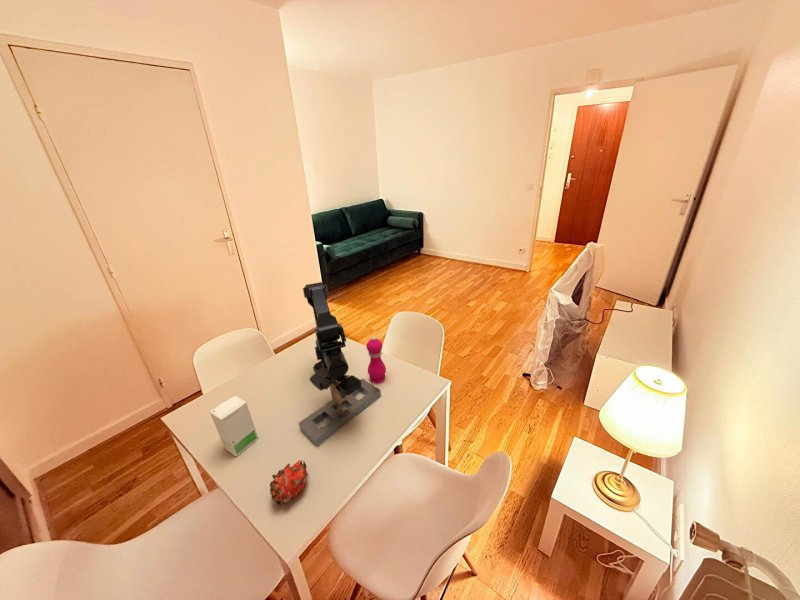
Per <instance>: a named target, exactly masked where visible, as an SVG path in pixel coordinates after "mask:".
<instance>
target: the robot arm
mask: <svg viewBox="0 0 800 600" xmlns="http://www.w3.org/2000/svg"><path fill="white" fill-rule="evenodd" d="M327 285H328V284H327V283H323V282H322V281H319V282H315V283H314V282H313V283H308V284H305V286H304V287H303V288H302V291H303V297H304V298H305V299H306V300H307V304H308V305H309V306H311V308H312V310H313V315H314V322H315V325H316V329H314V332H315V337H316V340H315V346H314V350H315V356H316V359H317V361H318V362H316V363H314V365H313V367H312V369H313V372H314V373H313V374H312V375H311V376H310V378H309V382H311V384H312V385H313V386H314V387H315V388H317V390H319V391H321V392H322V391H324V390H328V389H330V386H331V384H332V381H333V382H334V381H337V382H340V383H339V385H338V386H336V387H335V388H336V389H337V390H339V391H340V394H341V396H342V398H345V397H346V395H350V394H351V393H353V392H354V391H356V390H357V389H358V388H360V387H361V379H360V378H358V377H356V376H355V375H349V374H347V373H348V371H349V365H348V362H347V359H346V356H345V354H344V352H343V351H342V349H343V348H346V346H347V345H346V342H347V338H346V334H345V330H344V327H343V326H342V324H341V323H339V322H338V319H337V318H336V316H334V315H333V314H332V313H331V311H330V308H329V305H328V301H327V300H328V298H327V296H328V295H327V294H329V288H328V286H327ZM331 380H332V381H331Z"/></svg>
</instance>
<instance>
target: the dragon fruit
mask: <svg viewBox="0 0 800 600" xmlns="http://www.w3.org/2000/svg"><path fill="white" fill-rule="evenodd" d="M307 469H308V468H307V464H306V462H305V460H300V459H299V460H298V461H296V462H295V463H294V464H293V465H291V463H287V464H286V465H285V466H284V468H282V469H280V470H279V471H277V473H276V474H272V478H273V480H272V481H270V484H269V487H270V488H269V493H270V496H271V500H272V501H273V502H275V503H276V504H277V506H280V505H281V504H287V503H289V501H290V500H291V499H292V498H299V497H300V491H302V490H303V489H304V487H305V484H306V480H307V477H308V476H309V474H308V473H307Z"/></svg>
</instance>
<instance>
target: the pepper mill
mask: <svg viewBox="0 0 800 600" xmlns="http://www.w3.org/2000/svg"><path fill="white" fill-rule="evenodd" d="M382 349H383V342H382V341H381V339H378V338H377V337H376V336H372V337H371V339H369V340H368V341H367V342H366V350H367V352H368V356H369V357H370V361H369V364H368V366H367V373H368V375H369V380H370V382H371V384H375V385H377V384H382V383H384V381H386V372H387V367H386V365H385V363H384V361H383V360H382V358H381V355H382V354H383V353H382Z"/></svg>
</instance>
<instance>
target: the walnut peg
mask: <svg viewBox="0 0 800 600" xmlns="http://www.w3.org/2000/svg"><path fill="white" fill-rule="evenodd" d="M331 381H332V380H331ZM339 383H340V382H337V381H334V382H333V381H332V384H331V386H330V387H329V389H330V394H331V400H332V399H333V400H334V401H335V402H337V403H338V404H339V405H340V404H341V403H342V402H344V401H345V400H346V399H348V398H349V397H348V395H346V397H345V398H342V396H341V394H340V391H339V390H337V389H336V388H335V387H336V386H338V385H339Z"/></svg>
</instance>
